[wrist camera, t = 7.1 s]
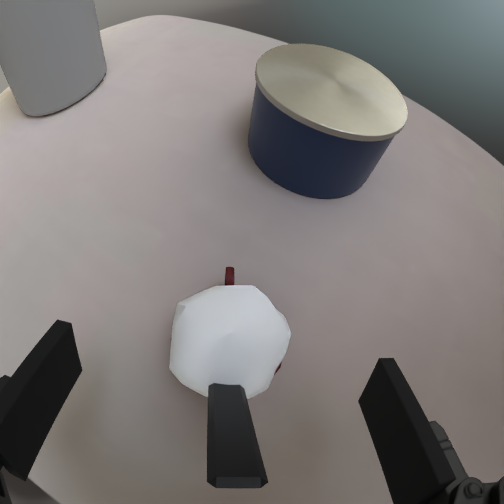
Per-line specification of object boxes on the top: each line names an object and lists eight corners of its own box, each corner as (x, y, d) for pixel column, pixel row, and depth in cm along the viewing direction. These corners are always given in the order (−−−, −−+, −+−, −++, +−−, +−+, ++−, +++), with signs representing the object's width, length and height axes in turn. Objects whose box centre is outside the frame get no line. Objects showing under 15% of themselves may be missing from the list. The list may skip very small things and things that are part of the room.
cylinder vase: (5, 120, 26) (-54, -35, 3) (55, 63, 31) (25, -74, 9) (74, 119, 26) (23, -88, 4) (124, 59, 32) (109, -106, 9)
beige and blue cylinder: (339, 105, 31) (362, 49, 24) (391, 192, 26) (434, 137, 19) (232, 109, 29) (238, 43, 21) (267, 211, 24) (288, 140, 17)
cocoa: (211, 274, 21) (208, 159, 11) (293, 310, 21) (373, 230, 10) (150, 396, 18) (66, 411, 7) (238, 437, 17) (268, 508, 6)
